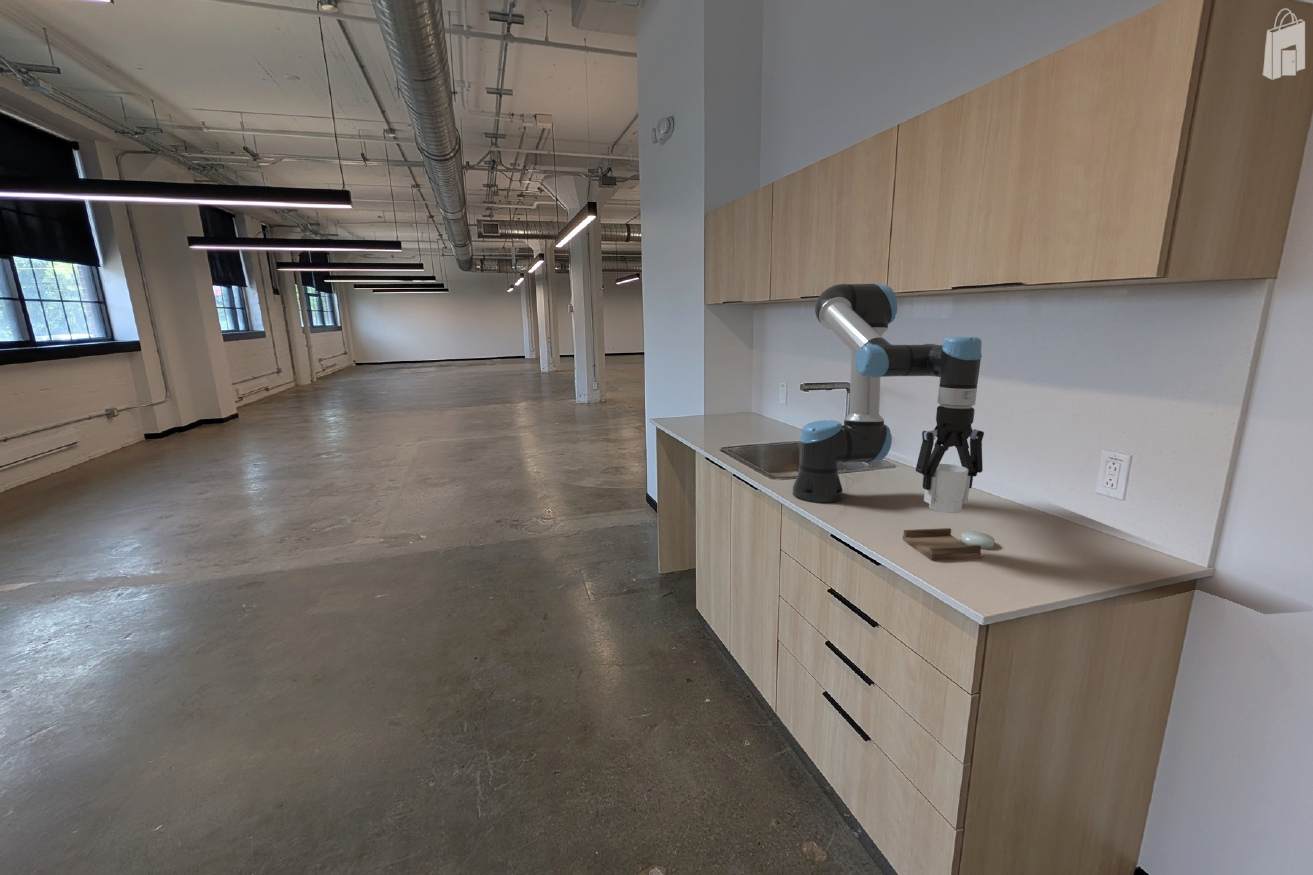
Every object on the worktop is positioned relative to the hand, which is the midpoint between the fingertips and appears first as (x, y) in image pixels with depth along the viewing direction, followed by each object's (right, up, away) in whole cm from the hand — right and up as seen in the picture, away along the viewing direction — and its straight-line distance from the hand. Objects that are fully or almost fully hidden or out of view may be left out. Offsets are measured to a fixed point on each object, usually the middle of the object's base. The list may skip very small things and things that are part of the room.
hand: (945, 501), depth 127 cm
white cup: (0, -2, 0) cm, 2 cm away
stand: (0, -11, +3) cm, 12 cm away
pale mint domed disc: (+11, -11, +6) cm, 16 cm away
